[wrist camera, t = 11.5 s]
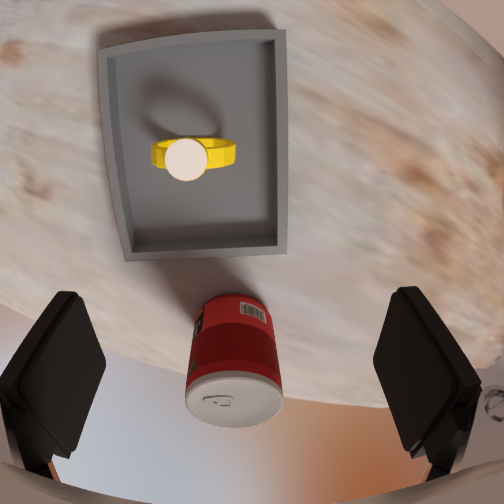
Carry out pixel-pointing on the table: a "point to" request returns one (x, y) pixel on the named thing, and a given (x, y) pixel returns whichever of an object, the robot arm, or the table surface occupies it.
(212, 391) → the canned food
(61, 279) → the table surface
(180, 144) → the watch
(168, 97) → the tray
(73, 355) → the robot arm
